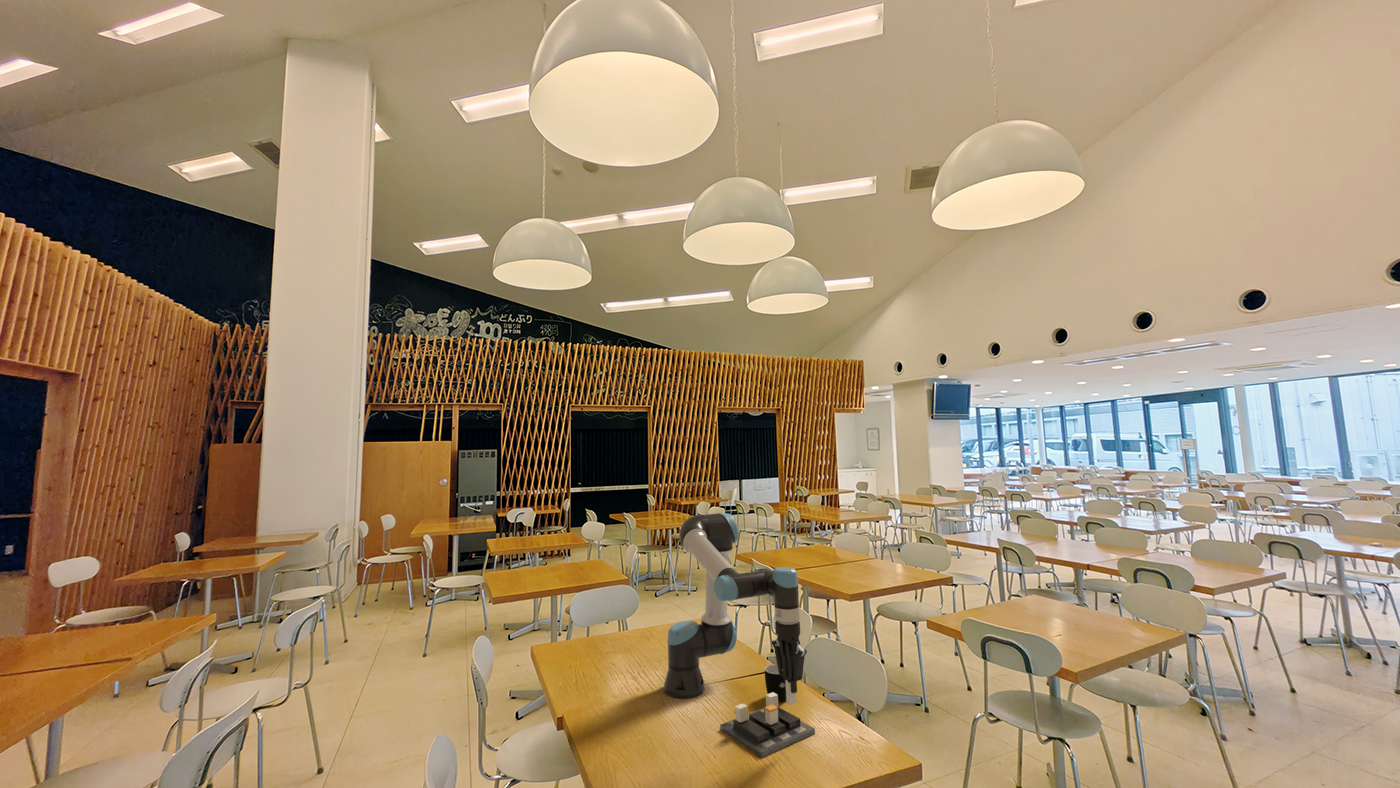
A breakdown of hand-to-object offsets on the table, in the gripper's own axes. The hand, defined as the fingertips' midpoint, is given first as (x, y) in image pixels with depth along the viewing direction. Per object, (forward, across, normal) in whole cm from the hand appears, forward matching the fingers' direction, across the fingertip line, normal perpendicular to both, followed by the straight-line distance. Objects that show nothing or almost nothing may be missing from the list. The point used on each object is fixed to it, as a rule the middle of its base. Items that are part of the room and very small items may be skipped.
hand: (791, 702), depth 159 cm
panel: (+13, -12, 0) cm, 17 cm away
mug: (+13, -27, +20) cm, 36 cm away
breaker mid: (+9, -9, 0) cm, 13 cm away
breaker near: (+9, -16, -6) cm, 20 cm away
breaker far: (+9, -16, +7) cm, 20 cm away
